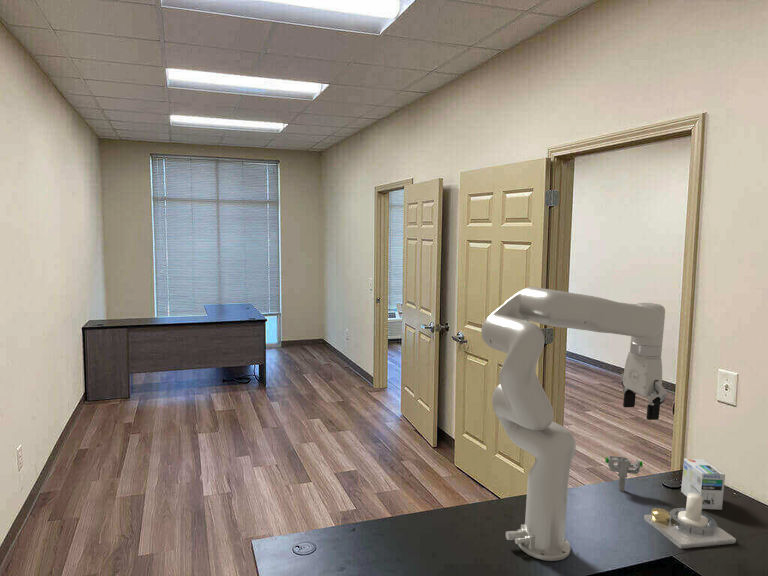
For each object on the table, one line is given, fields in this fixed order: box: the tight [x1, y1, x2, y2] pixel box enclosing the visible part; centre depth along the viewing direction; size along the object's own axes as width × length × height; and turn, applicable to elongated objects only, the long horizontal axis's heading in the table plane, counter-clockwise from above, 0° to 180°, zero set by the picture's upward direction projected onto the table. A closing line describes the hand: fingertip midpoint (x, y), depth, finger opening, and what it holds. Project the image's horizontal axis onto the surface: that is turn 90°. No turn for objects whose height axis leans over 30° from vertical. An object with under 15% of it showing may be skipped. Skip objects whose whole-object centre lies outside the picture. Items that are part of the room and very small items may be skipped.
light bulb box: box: [680, 458, 726, 511], centre depth 163 cm, size 11×7×11 cm, turn 179°
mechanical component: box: [604, 455, 643, 493], centre depth 167 cm, size 3×10×10 cm, turn 78°
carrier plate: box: [643, 507, 737, 549], centre depth 146 cm, size 16×14×3 cm
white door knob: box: [678, 493, 708, 527], centre depth 148 cm, size 7×7×8 cm
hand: (640, 412), depth 147 cm, fingers open, 9 cm apart
